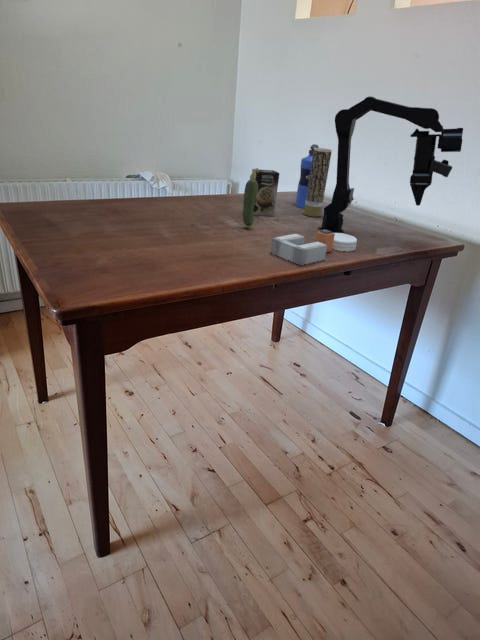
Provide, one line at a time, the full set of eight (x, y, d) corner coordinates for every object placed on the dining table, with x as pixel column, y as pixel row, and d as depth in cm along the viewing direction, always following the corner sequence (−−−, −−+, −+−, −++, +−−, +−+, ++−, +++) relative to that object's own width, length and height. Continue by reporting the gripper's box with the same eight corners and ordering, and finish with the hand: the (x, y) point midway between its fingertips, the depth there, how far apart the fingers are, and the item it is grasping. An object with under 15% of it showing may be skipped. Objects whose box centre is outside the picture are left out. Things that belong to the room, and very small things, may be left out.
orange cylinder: (313, 249, 140) (316, 229, 137) (321, 247, 143) (324, 228, 140) (323, 252, 138) (327, 233, 135) (331, 251, 140) (335, 231, 137)
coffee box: (252, 215, 172) (256, 171, 165) (247, 211, 177) (251, 168, 170) (274, 216, 174) (280, 172, 167) (269, 211, 180) (274, 169, 173)
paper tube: (321, 218, 178) (333, 151, 167) (304, 216, 178) (315, 149, 167) (319, 214, 184) (330, 149, 173) (302, 212, 184) (312, 147, 173)
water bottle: (291, 203, 198) (300, 142, 186) (310, 203, 201) (320, 143, 189) (300, 208, 190) (309, 145, 179) (320, 209, 193) (330, 146, 181)
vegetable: (238, 227, 155) (244, 167, 146) (244, 225, 158) (250, 165, 149) (250, 230, 153) (256, 169, 144) (256, 228, 157) (262, 167, 148)
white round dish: (356, 245, 149) (358, 235, 148) (354, 254, 141) (357, 243, 139) (325, 240, 151) (327, 230, 150) (322, 249, 143) (324, 238, 141)
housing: (270, 253, 133) (272, 237, 131) (294, 248, 140) (296, 232, 138) (300, 265, 126) (303, 249, 124) (324, 259, 132) (327, 244, 130)
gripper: (453, 154, 131) (445, 208, 137) (452, 149, 147) (445, 199, 153) (412, 154, 135) (406, 207, 141) (415, 150, 151) (410, 198, 157)
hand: (418, 203), depth 148 cm, fingers open, 9 cm apart
